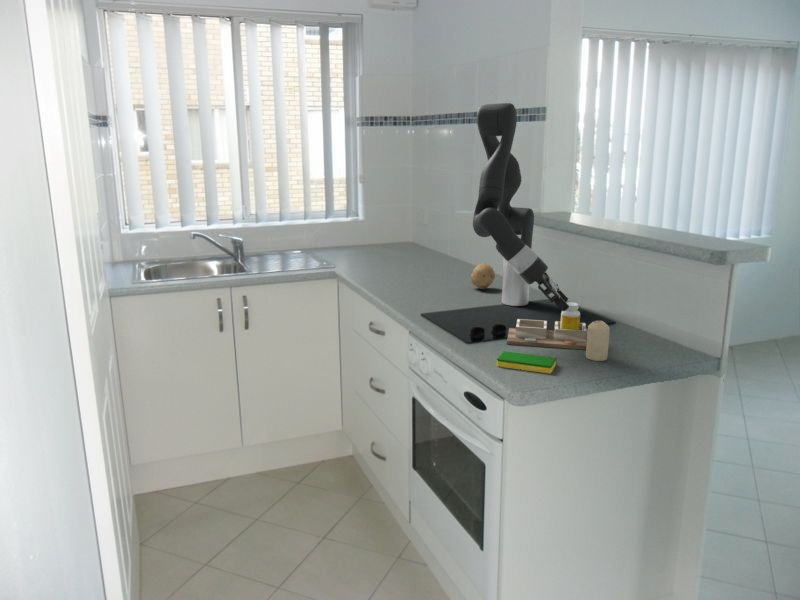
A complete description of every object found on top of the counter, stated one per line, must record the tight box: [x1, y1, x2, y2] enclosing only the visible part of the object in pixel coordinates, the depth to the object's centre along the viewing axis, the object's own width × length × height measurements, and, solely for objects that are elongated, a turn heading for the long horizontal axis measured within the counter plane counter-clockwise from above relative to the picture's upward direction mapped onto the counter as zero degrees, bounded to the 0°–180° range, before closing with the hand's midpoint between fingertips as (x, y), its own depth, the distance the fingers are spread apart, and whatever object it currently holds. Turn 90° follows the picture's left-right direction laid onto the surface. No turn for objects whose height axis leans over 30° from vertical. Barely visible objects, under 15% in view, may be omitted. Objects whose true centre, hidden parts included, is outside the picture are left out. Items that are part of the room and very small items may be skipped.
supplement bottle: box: [560, 301, 581, 330], centre depth 191 cm, size 5×5×10 cm
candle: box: [585, 320, 611, 362], centre depth 176 cm, size 6×6×10 cm
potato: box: [469, 263, 496, 290], centre depth 251 cm, size 9×9×10 cm
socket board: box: [506, 318, 588, 351], centre depth 191 cm, size 13×24×4 cm, turn 78°
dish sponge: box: [496, 350, 557, 374], centre depth 171 cm, size 7×14×2 cm, turn 67°
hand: (566, 305), depth 190 cm, fingers open, 8 cm apart
